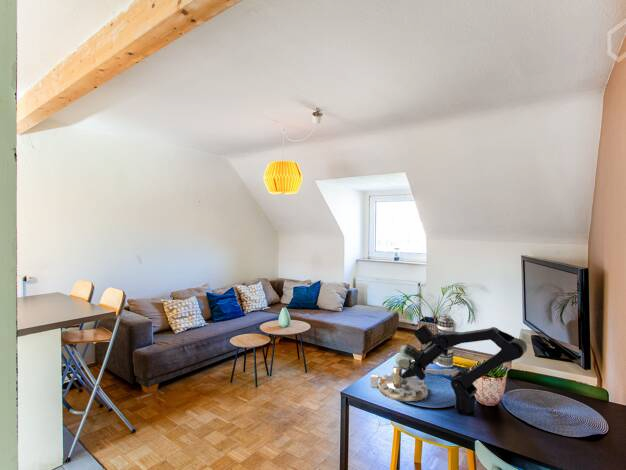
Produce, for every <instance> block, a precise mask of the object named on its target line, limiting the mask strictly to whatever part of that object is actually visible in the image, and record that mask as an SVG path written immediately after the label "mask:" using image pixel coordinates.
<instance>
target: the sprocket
mask: <svg viewBox="0 0 626 470" xmlns="http://www.w3.org/2000/svg"><path fill="white" fill-rule="evenodd" d="M392 370H393V371H392V372H393V373H391V375H387V374H384V375H383V378H382V379H381V378H379V379H380V380H379V382H380V384H381V387H382V388H383V389H385V388H387V389H388V392H389V393H391V394H392V393H393V392H395V393H398V394H400V396H404V395H411V396H412V397H416V394H417V393H419V394H421V395H423V394H424V390H426V387H427V384H425V381H424V379H423V380H422V381H421V380H420V379H417V378H418V377H417V376H413V377H408V378H404V379H403V378H402V377H401V376H402V374H403V373H404V372H403V368H402V367H400V366H397V365H396V366H393V368H392Z"/></svg>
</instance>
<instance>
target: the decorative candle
mask: <svg viewBox="0 0 626 470" xmlns="http://www.w3.org/2000/svg"><path fill="white" fill-rule="evenodd" d="M435 328H436V329H435V331H436V333H444V332H446V331H454V319H453V318H452V317H451V316H446V315H440V317H438V318H437V325H436V326H435ZM453 347H454V346H453ZM453 347H449V348H446V349H448V356H445V355H444V354H441V355H440V356H439V357H438V358H437V359H435V361H436V363H435V364H436V365H438V366H440V367H442V368H452V367H453V366H454V353H455V352H454V348H453Z"/></svg>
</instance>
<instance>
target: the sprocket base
mask: <svg viewBox="0 0 626 470" xmlns="http://www.w3.org/2000/svg"><path fill="white" fill-rule="evenodd" d="M378 390H379V392H380V393H381V394H382V395H383V396H384V397H387V398H388V399H392V400H394V401H397V402H398V401H399V402H403V401H417V402H419V401H418V400H421V399H424V398H425V397H426V396H427V395H429V389H428V387H427V386H426V390H424V394H423V395H421V394H419V393H417V394H416V397H412V396H411V395H404V396H400V394H398V393H395V392H393V393H392V394H391V393H389V392H388V389H387V388H385V389H383V388H382V387H381V384H380V381H378ZM427 397H428V396H427ZM427 397H426V398H427ZM426 398H425V399H426ZM425 399H424V400H425ZM421 401H422V400H421Z"/></svg>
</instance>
